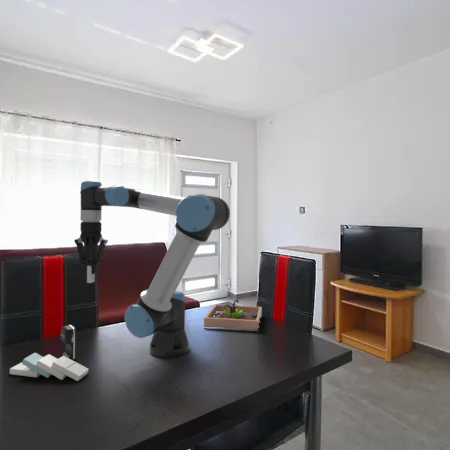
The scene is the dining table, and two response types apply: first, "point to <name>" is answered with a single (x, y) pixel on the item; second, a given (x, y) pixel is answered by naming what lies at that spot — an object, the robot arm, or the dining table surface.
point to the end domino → (23, 371)
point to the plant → (234, 313)
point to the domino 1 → (32, 362)
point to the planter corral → (233, 322)
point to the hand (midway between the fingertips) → (90, 282)
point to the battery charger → (69, 341)
